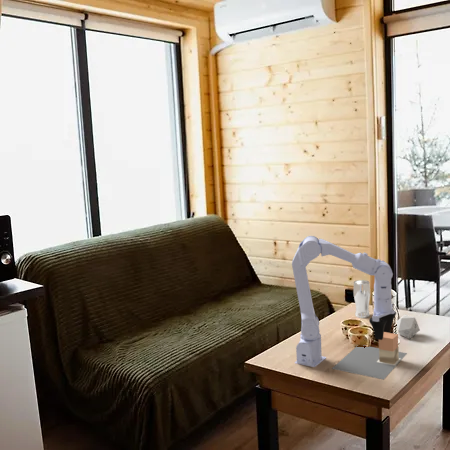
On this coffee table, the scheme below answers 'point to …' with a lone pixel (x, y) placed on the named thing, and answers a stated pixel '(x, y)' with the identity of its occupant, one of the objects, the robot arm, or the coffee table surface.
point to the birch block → (389, 356)
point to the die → (407, 326)
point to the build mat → (366, 363)
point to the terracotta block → (389, 342)
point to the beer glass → (362, 298)
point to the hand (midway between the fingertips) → (383, 335)
